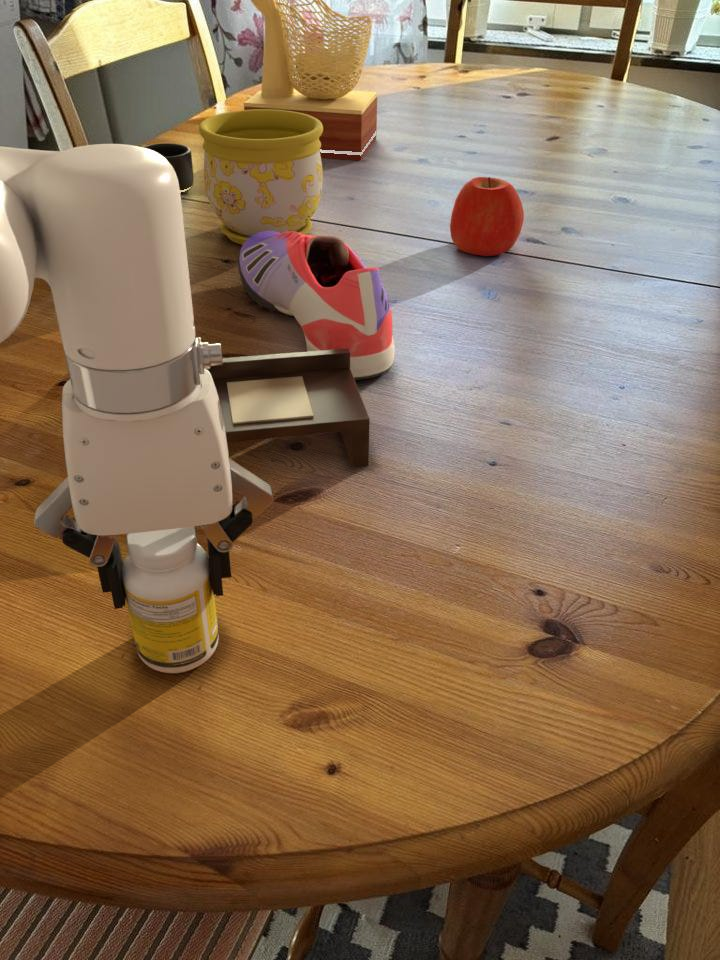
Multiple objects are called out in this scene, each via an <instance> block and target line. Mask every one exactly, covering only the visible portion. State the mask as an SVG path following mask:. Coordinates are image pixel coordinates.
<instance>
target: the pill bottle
mask: <svg viewBox="0 0 720 960" xmlns="http://www.w3.org/2000/svg"><path fill="white" fill-rule="evenodd" d="M197 538H198V537H197V532H196V528H195V526H192V527H184V528H176V529H167V530H158V531H149V532H140V533H130V534H126V536H125V543H126V544H125V545H126V551H127V555H126V557H125V558H124V560H123V566H122V582H123V587H124V592H125V597H126V602H125V604H126V607H127V611H128V616H129V620H130V626H131V631H132V635H133V639H134V640H133V641H134V644H135V648H136V652H137V655H138V657H139V658H140V660H141V662H143V663H144V664H145V665H146V666H147V667H149V668H151V669H152V670H154V671H157V672H160V673H165V674H180V673H185V672H188V671H191V670H194V669H196V668H197V667H200V666H201V665H203V664H204V663H206V662H207V661H208V660H209V659H210V658H211V657H212V656H213V654H214V653H215V651H216V649H217V648H218V645H219V637H220V635H219V625H218V615H217V607H216V600H215V595H213V589H212V580H211V572H210V563H209V554H208V552H207V551H206V550H205V549H204V548H203V546H201V545H200V544H199V543H198V539H197Z"/></svg>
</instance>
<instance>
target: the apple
mask: <svg viewBox="0 0 720 960" xmlns="http://www.w3.org/2000/svg"><path fill="white" fill-rule="evenodd" d="M450 216H451V217H450V222H449V230H450V231H449V233H450V238H451V240H452V243H453V244H454V246H455V247H456V248H457V249H458V250H459V251H461V252H464V253H466V254H471V255H475V256H481V257H494V256H499V255H502V254H504V253H506V252H509V251H510V250H511V249H512V248H513V247H514V246H515V244H516V243H517V241H518V239H519V237H520V235H521V232H522V228H523V224H524V220H525V210H524V207H523V203H522V200H521V198H520V196H519V193H518V191H517V190H516V189H515V187H514V185H513V184H512V183H510V182H509V181H507V180H504V179H502V178H496V177H490V176H489V177H488V176H477V177H473V178H471V179H470V180H469V181H468V182H466V183H465V184H463V186H462V188H461V189H459V192H458V194H457V196H456V198H455V201H454V203H453V208H452V211H451V215H450Z"/></svg>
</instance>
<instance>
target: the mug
mask: <svg viewBox="0 0 720 960" xmlns="http://www.w3.org/2000/svg"><path fill="white" fill-rule="evenodd" d="M142 147H143V148H147V149H150V150H153V151H155V152H157V153H158V154H160V155H162V156H163V157H165V158H166V160H167V161H168V162H169V163H170V164H171V165H172V167H173V169H174V171H175V173H176V175H177V178H178V182H179V188H180V190H184V189H187V188H189V187H191V186H192V187H191V189H192V188H193V185H194V180H195V178H194V167H193V157H192V149H191V148H190V147H189V146H187V145H185V144H180V143H170V142H166V143H165V142H163V143H153V144H148V145H145V146H142ZM191 189H189V190H187V191H185V192H181V193H180V195H181V196H182V195H184V194H185V193H187V192H189V191H190V190H191Z"/></svg>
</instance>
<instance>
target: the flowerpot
mask: <svg viewBox="0 0 720 960" xmlns="http://www.w3.org/2000/svg"><path fill="white" fill-rule="evenodd" d="M198 131H199V134H200V137H202V138H203V143H202V148H203V150H204V156H203V180H204V187H205V193H206V197H207V200H208V203H209V204H210V207H211V209H212V210H213V212H214V214H215V215H216V216H217V218H218V219H219V220H220V223H219V229H220V232H222V233H223V234H224V235H226V237H227V239H228V240H230V241H231V242H233V243H235V244H237V245H239V246H240V245H241V246H243V244H244V243H245V241H246V240H247V239H249V238H250V237H252V236H253V235H255V234H257V233H260V232H265V231H274V232H279V233H283V232H287V231H289V232H290V231H295V232H298V233H301V234H304V235H307V233H309V232H310V231H311V229H312V228H313V222H312V220H311V219H312V218H313V216H314V214H315V213H316V211H317V209H318V207H319V204H320V201H321V197H322V193H323V182H324V181H323V180H324V179H323V178H324V177H323V176H324V175H323V174H324V173H323V165H322V164H323V163H322V158H321V156H320V148H321V142H320V141H319V137H320V136H321V134H322V132H323V125H322V123H321V122H320V121H319V120H318V119H316V118H315V117H312V116H310V115H306V114H303V113H298V112H292V111H285V110H270V109H255V110H244V109H240V110H233V111H226V112H222V113H218V114H214V115H211V116H209V117H206V118H205V119H203V120H202V121H201V122H200V124H199V126H198Z"/></svg>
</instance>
